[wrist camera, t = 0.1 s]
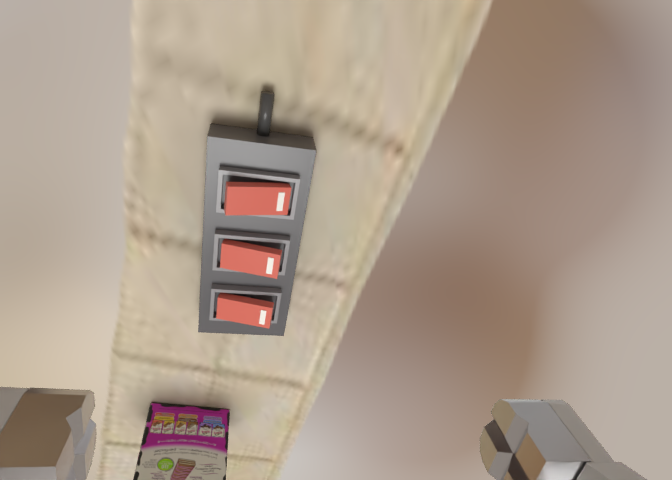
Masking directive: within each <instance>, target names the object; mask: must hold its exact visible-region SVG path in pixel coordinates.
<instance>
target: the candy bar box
mask: <svg viewBox="0 0 672 480" xmlns="http://www.w3.org/2000/svg"><path fill="white" fill-rule="evenodd" d="M229 416H230V411H229V410H228V409H218V408H206V407H194V406H182V405H169V404H157V403H151V405H150V408H149V412H148V417H147V421H146V425H145V429H144V434H143V438H142V443H141V447H140V452H139V456H138V461H137V465H136V470H135V474H134V479H133V480H226V467H227V448H228V430H229Z"/></svg>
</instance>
